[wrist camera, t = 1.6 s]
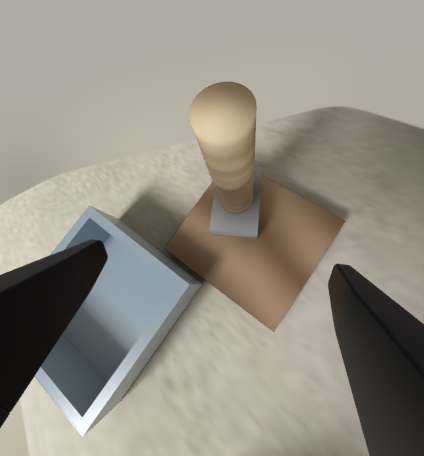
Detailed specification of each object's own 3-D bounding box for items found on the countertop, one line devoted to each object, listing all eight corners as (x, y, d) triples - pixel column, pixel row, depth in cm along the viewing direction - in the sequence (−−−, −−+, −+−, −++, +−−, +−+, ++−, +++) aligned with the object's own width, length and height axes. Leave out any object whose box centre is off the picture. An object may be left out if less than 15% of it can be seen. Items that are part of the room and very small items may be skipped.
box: (119, 402, 19) (82, 436, 15) (43, 317, 22) (-6, 326, 18) (202, 283, 20) (189, 284, 16) (118, 219, 24) (89, 205, 19)
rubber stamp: (256, 238, 19) (266, 177, 8) (213, 235, 20) (164, 174, 9) (261, 177, 21) (276, 48, 9) (220, 175, 21) (186, 55, 10)
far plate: (272, 328, 19) (273, 332, 17) (168, 249, 22) (163, 248, 21) (339, 224, 20) (345, 220, 19) (231, 164, 23) (230, 157, 22)
